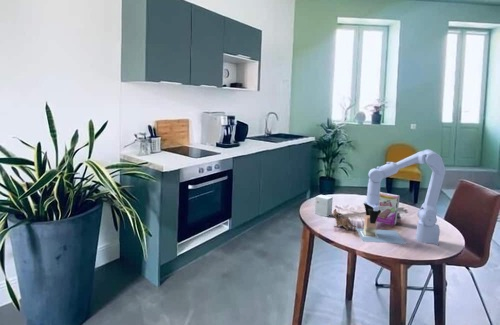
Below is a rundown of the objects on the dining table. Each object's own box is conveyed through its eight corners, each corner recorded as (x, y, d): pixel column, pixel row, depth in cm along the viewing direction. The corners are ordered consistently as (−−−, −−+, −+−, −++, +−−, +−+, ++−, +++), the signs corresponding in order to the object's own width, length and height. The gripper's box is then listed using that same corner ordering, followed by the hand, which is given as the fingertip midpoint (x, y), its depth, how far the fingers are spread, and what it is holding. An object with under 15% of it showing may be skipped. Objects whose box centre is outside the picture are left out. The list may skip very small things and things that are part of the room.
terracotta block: (373, 224, 179) (374, 215, 178) (376, 227, 175) (377, 218, 174) (364, 223, 179) (365, 215, 178) (366, 227, 175) (367, 218, 174)
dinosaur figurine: (327, 226, 188) (328, 209, 186) (332, 224, 192) (334, 207, 190) (351, 234, 179) (353, 216, 177) (356, 231, 183) (358, 213, 182)
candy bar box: (372, 222, 197) (376, 193, 193) (375, 219, 201) (378, 191, 197) (394, 227, 191) (398, 197, 187) (396, 224, 195) (400, 195, 192)
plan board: (395, 232, 184) (395, 230, 184) (406, 245, 168) (406, 243, 168) (355, 229, 185) (355, 228, 185) (362, 242, 170) (362, 241, 169)
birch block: (372, 232, 180) (373, 224, 179) (374, 236, 176) (375, 227, 175) (363, 232, 180) (364, 223, 179) (365, 235, 176) (366, 227, 175)
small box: (331, 215, 206) (333, 197, 204) (326, 217, 202) (328, 199, 200) (319, 211, 211) (320, 194, 209) (314, 213, 207) (315, 196, 205)
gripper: (361, 189, 181) (359, 214, 184) (368, 197, 167) (365, 225, 170) (375, 189, 181) (373, 215, 183) (384, 198, 166) (381, 226, 169)
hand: (370, 220), depth 176 cm, fingers open, 7 cm apart
